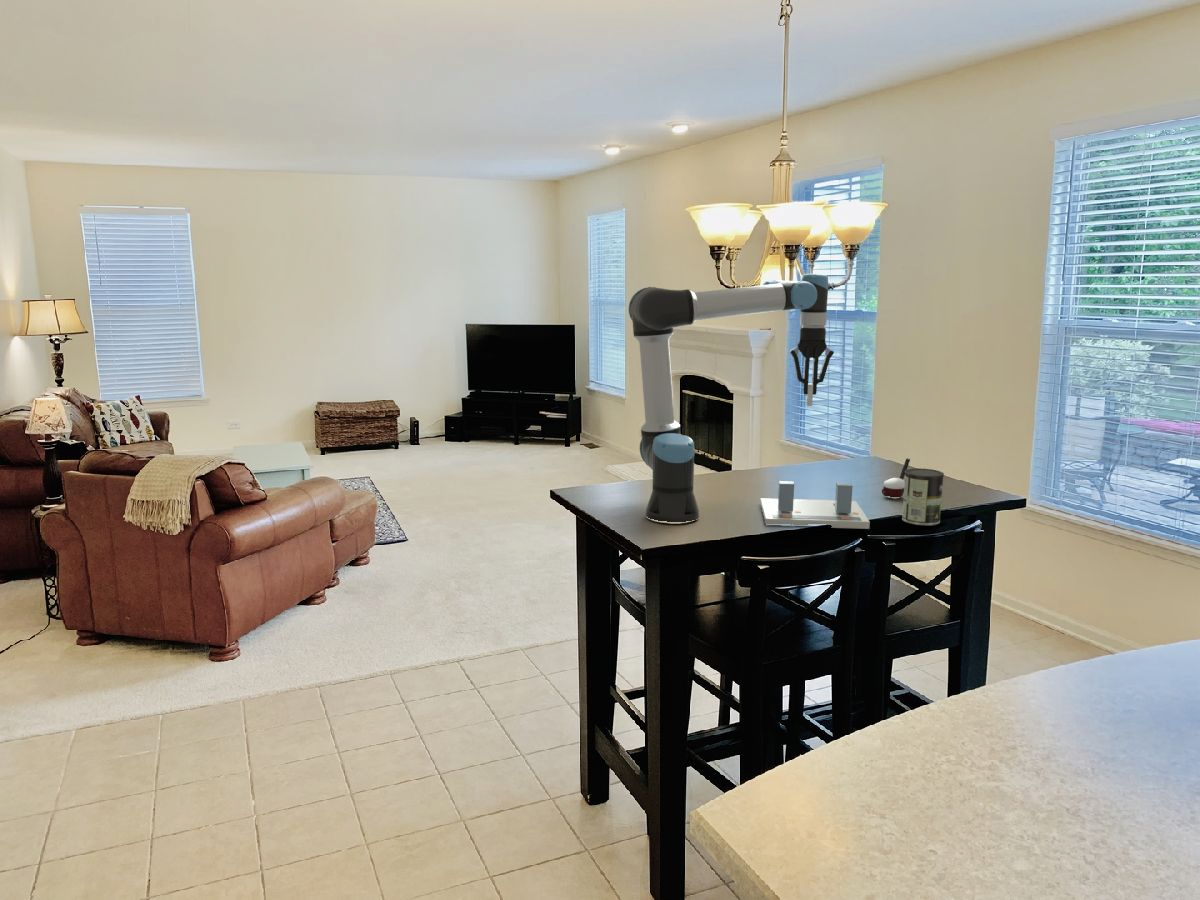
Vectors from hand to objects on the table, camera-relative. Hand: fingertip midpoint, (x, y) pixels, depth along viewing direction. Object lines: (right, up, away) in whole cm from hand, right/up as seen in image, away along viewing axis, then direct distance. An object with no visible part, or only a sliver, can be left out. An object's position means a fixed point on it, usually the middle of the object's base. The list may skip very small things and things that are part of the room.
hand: (809, 405), depth 263 cm
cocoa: (+28, -29, +8) cm, 41 cm away
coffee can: (+28, -34, -17) cm, 47 cm away
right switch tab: (+5, -31, -17) cm, 36 cm away
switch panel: (-2, -33, -13) cm, 35 cm away
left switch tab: (-10, -31, -15) cm, 36 cm away
